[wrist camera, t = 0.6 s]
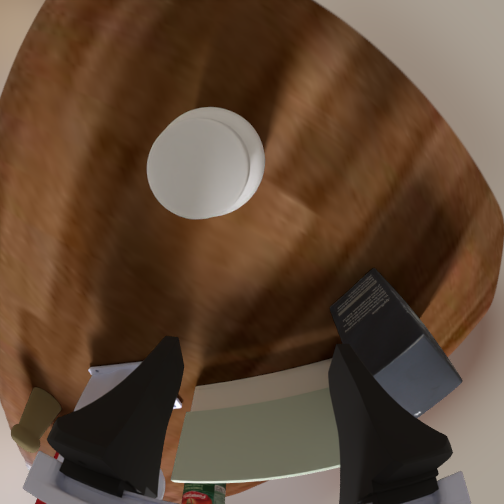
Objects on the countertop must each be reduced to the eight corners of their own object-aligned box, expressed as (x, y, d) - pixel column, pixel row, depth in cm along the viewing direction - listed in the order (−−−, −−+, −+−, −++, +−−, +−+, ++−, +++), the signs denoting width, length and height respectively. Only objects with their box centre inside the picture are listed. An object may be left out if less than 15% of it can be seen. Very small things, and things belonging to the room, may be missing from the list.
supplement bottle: (177, 129, 18) (113, 128, 9) (250, 107, 18) (246, 81, 9) (198, 198, 20) (155, 251, 11) (270, 179, 20) (282, 218, 11)
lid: (173, 482, 17) (170, 479, 17) (188, 414, 24) (186, 412, 24) (376, 456, 15) (376, 454, 15) (353, 383, 22) (353, 380, 22)
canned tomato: (212, 487, 43) (208, 530, 33) (178, 477, 41) (171, 522, 31) (234, 480, 40) (232, 528, 30) (197, 469, 38) (191, 520, 28)
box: (421, 317, 25) (465, 382, 16) (381, 352, 26) (412, 422, 18) (373, 263, 22) (426, 334, 14) (326, 307, 24) (354, 390, 15)
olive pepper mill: (56, 413, 35) (33, 458, 25) (29, 392, 33) (4, 435, 23) (65, 407, 33) (41, 457, 23) (37, 383, 31) (8, 431, 21)
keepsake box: (222, 423, 31) (220, 448, 28) (195, 386, 28) (189, 414, 25) (349, 397, 29) (357, 423, 26) (343, 354, 26) (353, 383, 23)
